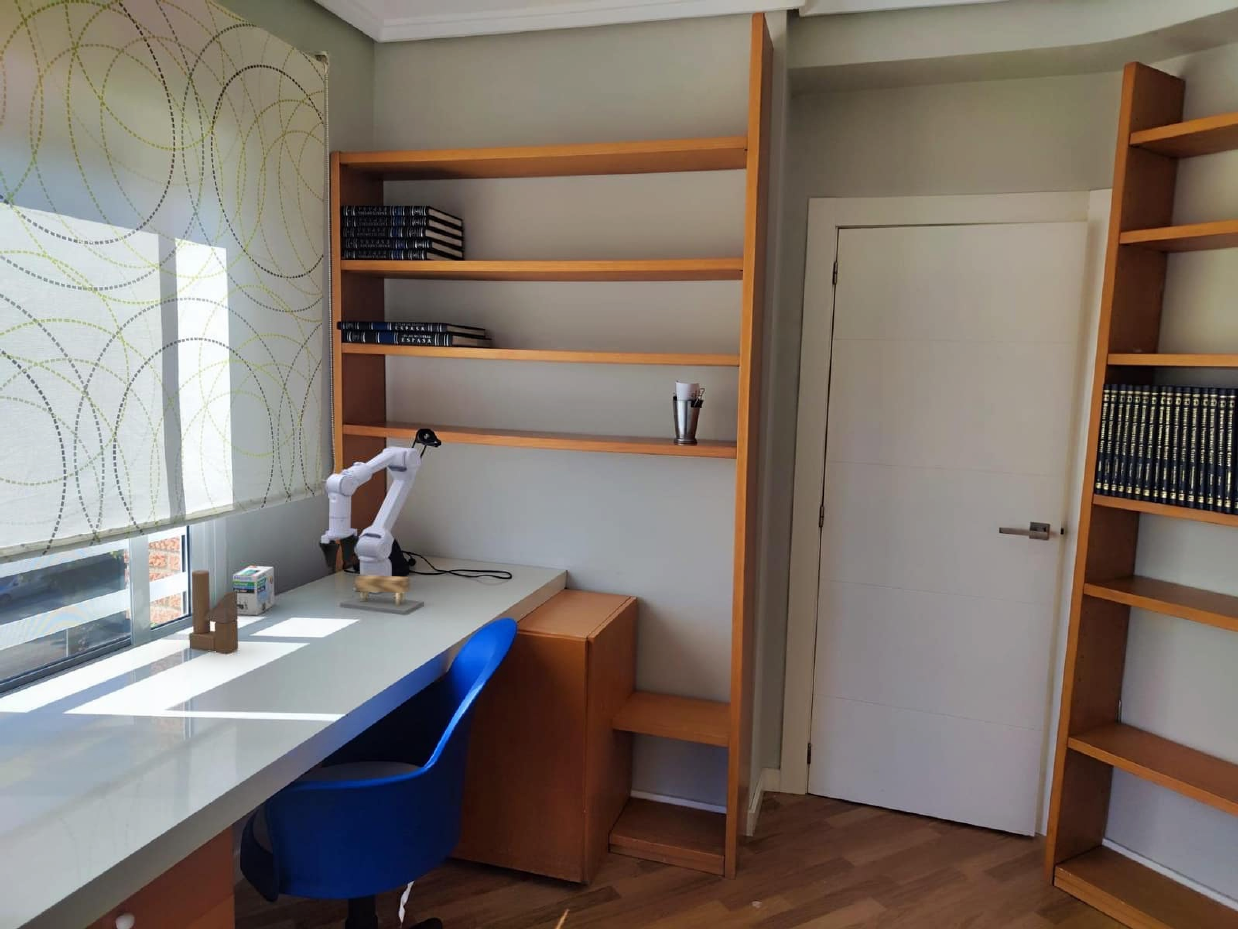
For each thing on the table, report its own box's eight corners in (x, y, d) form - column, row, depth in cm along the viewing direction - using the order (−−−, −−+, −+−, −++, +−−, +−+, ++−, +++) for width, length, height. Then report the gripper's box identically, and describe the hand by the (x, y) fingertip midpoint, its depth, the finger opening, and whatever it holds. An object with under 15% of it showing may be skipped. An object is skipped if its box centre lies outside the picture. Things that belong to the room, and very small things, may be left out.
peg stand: (361, 597, 242) (361, 582, 242) (423, 605, 236) (423, 589, 236) (340, 606, 233) (340, 590, 232) (404, 614, 227) (404, 598, 226)
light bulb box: (258, 616, 222) (257, 575, 221) (232, 615, 222) (231, 574, 221) (275, 604, 233) (274, 566, 231) (251, 603, 233) (250, 565, 232)
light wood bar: (409, 589, 235) (409, 577, 235) (404, 593, 231) (404, 580, 231) (361, 586, 237) (361, 574, 236) (355, 590, 233) (355, 577, 232)
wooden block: (227, 654, 193) (225, 577, 191) (189, 648, 196) (187, 572, 194) (238, 649, 196) (237, 573, 194) (201, 643, 199) (199, 568, 197)
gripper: (342, 512, 245) (341, 558, 247) (311, 519, 231) (310, 568, 233) (363, 514, 244) (362, 561, 245) (334, 521, 230) (333, 570, 231)
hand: (338, 564), depth 239 cm, fingers open, 7 cm apart
